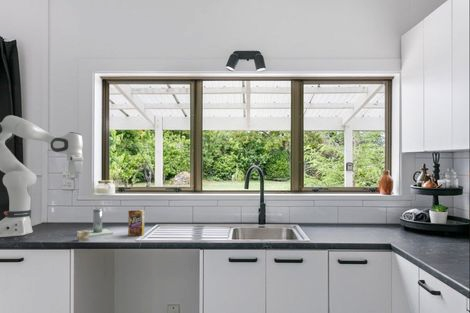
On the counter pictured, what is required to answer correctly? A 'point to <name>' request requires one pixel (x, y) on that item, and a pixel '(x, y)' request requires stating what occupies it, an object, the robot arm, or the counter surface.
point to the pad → (104, 232)
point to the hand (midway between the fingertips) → (74, 180)
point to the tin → (97, 220)
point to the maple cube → (83, 235)
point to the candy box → (136, 222)
